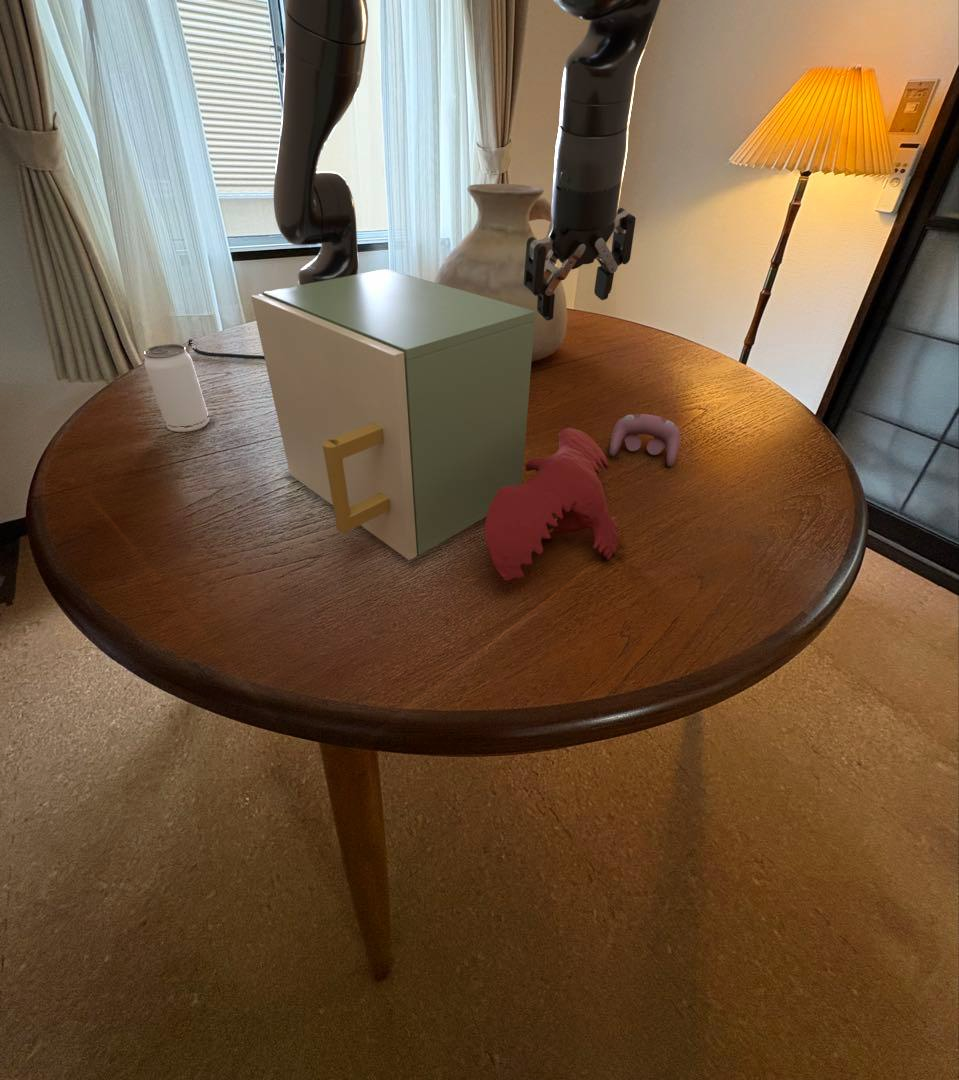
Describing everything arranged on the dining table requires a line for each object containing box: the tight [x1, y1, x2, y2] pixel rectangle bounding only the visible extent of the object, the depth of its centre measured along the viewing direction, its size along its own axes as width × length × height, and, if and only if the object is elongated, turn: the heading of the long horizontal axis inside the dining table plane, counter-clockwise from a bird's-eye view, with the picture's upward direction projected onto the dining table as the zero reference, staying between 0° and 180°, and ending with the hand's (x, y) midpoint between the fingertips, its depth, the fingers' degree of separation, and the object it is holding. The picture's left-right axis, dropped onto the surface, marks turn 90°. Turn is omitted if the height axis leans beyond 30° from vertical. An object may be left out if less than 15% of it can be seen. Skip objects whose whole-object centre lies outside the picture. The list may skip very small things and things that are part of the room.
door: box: [250, 293, 418, 561], centre depth 62 cm, size 8×26×24 cm, turn 45°
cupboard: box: [261, 268, 535, 556], centre depth 70 cm, size 18×26×24 cm
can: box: [143, 343, 210, 434], centre depth 86 cm, size 6×6×12 cm
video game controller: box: [608, 413, 681, 467], centre depth 84 cm, size 10×5×7 cm, turn 71°
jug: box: [433, 183, 568, 363], centre depth 111 cm, size 29×34×30 cm
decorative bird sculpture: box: [483, 427, 621, 581], centre depth 65 cm, size 28×9×15 cm
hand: (573, 306), depth 74 cm, fingers open, 8 cm apart
